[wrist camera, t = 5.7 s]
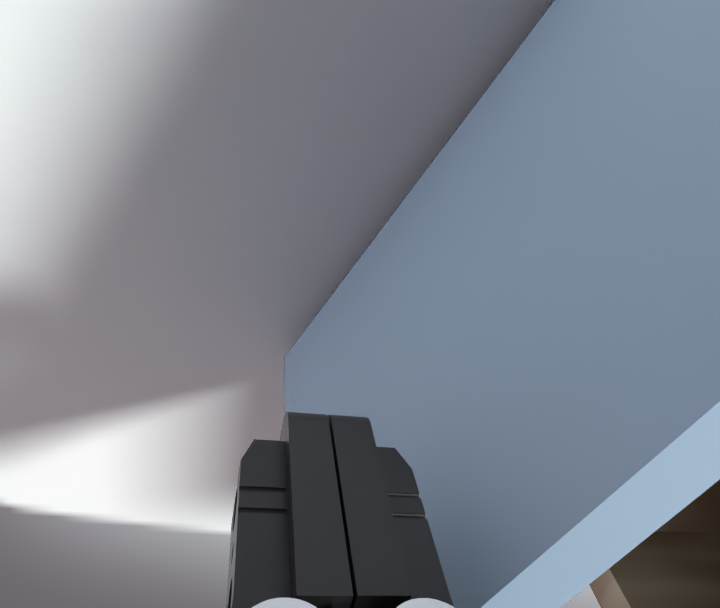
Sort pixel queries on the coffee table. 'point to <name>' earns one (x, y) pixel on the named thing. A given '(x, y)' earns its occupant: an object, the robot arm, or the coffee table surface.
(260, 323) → the coffee table surface
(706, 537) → the cabinet
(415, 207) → the cabinet door
